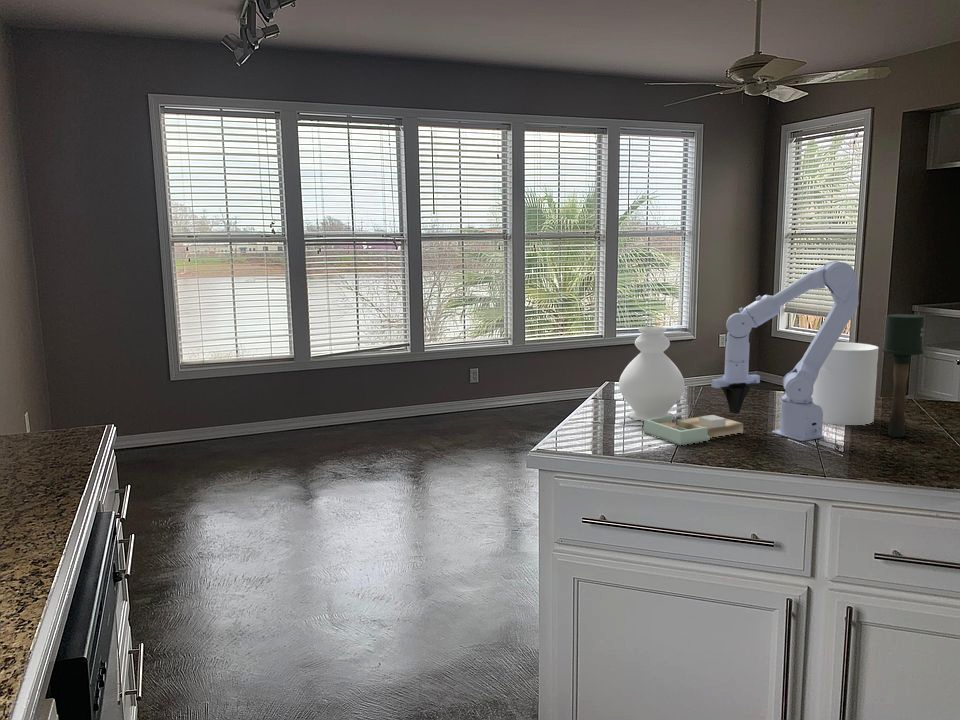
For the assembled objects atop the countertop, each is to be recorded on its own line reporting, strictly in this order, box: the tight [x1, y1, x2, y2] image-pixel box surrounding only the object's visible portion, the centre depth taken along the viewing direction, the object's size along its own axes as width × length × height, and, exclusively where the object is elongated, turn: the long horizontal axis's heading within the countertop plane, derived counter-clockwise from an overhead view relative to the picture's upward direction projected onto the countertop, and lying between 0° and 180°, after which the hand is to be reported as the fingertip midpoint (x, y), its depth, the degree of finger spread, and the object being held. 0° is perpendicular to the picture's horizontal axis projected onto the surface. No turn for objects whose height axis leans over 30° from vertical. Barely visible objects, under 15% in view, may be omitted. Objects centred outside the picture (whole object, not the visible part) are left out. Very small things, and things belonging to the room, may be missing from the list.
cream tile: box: [698, 414, 727, 428], centre depth 185 cm, size 4×4×2 cm
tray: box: [643, 416, 711, 447], centre depth 184 cm, size 14×9×4 cm, turn 26°
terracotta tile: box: [659, 422, 678, 429], centre depth 187 cm, size 4×4×2 cm
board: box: [676, 415, 744, 439], centre depth 189 cm, size 11×12×2 cm
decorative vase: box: [618, 326, 685, 422], centre depth 204 cm, size 18×18×25 cm
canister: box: [811, 341, 880, 426], centre depth 198 cm, size 16×16×20 cm
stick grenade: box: [882, 313, 925, 439], centre depth 179 cm, size 8×9×30 cm
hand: (734, 412), depth 188 cm, fingers closed
